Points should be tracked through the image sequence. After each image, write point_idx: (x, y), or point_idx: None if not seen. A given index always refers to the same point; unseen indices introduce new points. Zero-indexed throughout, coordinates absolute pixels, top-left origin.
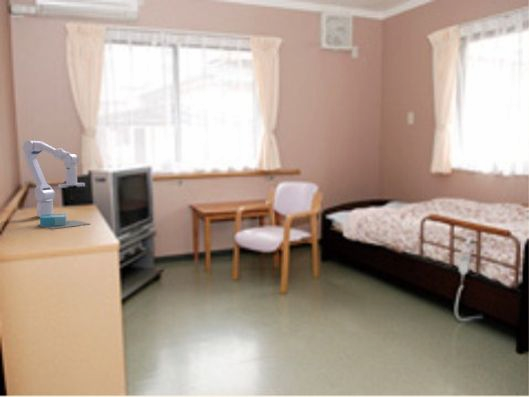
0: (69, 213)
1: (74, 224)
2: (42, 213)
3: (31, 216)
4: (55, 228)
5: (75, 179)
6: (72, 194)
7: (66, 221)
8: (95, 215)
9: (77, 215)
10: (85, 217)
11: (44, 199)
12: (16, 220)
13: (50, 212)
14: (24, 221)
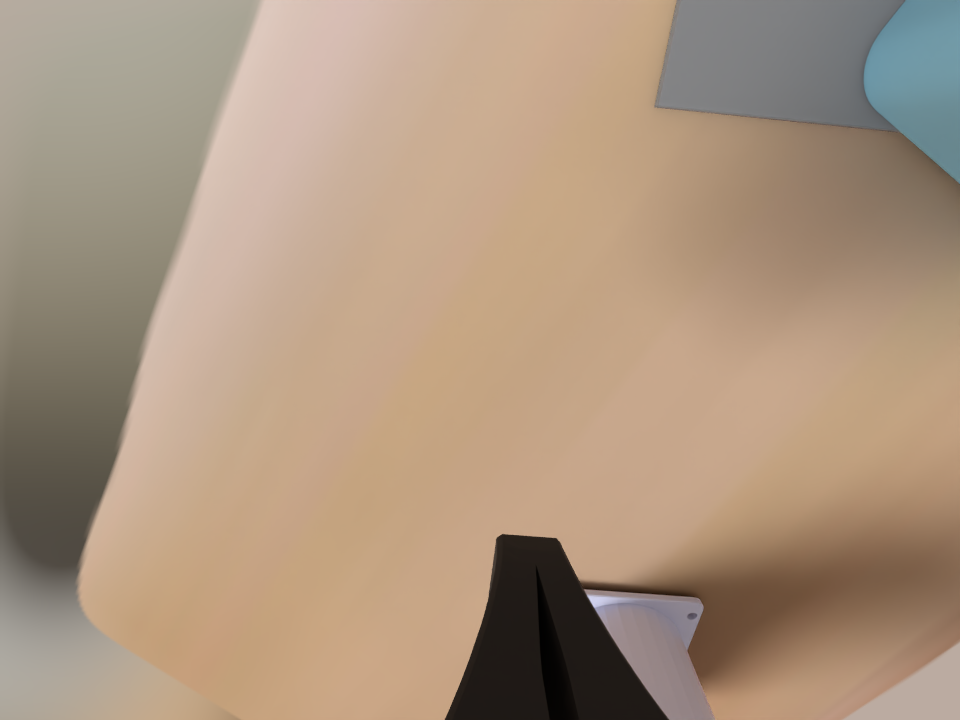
0: (354, 646)
1: None
2: (690, 659)
3: None
4: None
5: None
6: (595, 665)
7: (820, 99)
8: (186, 340)
9: (361, 496)
10: (370, 292)
11: None
12: (918, 636)
13: (624, 639)
14: (946, 547)
